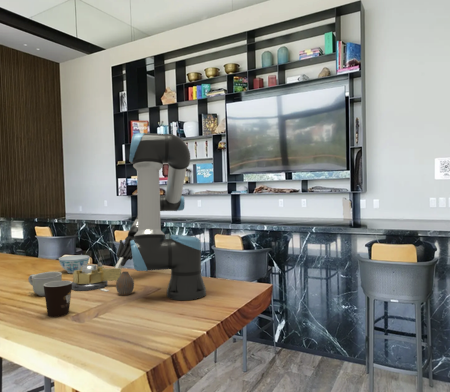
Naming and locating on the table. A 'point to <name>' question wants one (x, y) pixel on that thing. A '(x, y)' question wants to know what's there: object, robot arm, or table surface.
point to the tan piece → (96, 275)
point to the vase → (125, 284)
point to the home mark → (104, 290)
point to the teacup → (43, 281)
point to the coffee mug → (58, 297)
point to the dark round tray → (92, 285)
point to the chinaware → (73, 262)
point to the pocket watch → (99, 263)
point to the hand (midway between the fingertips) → (116, 271)
